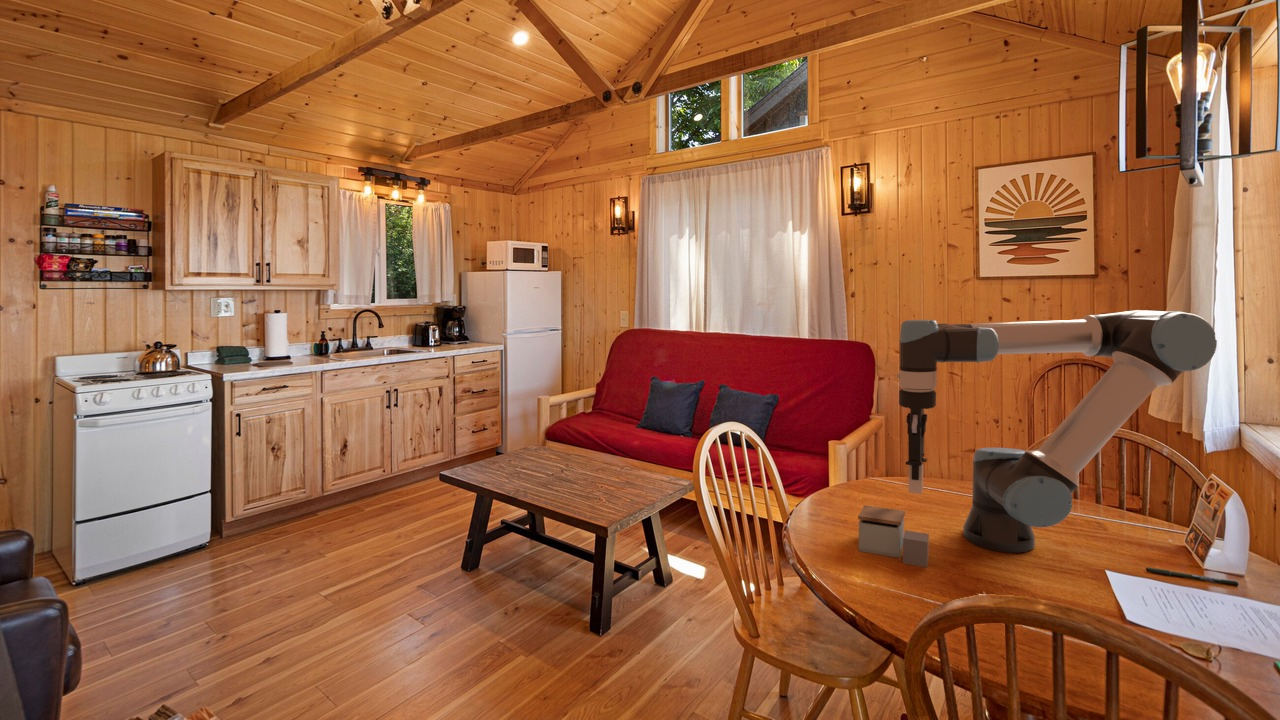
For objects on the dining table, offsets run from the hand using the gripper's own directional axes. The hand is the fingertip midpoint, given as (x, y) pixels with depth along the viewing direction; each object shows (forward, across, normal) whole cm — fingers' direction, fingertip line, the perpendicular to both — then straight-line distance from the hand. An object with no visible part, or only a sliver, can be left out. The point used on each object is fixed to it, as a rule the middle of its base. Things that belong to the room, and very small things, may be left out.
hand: (915, 491), depth 138 cm
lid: (+9, -5, -8) cm, 13 cm away
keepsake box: (+16, -5, -8) cm, 19 cm away
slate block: (+16, 0, 0) cm, 16 cm away
